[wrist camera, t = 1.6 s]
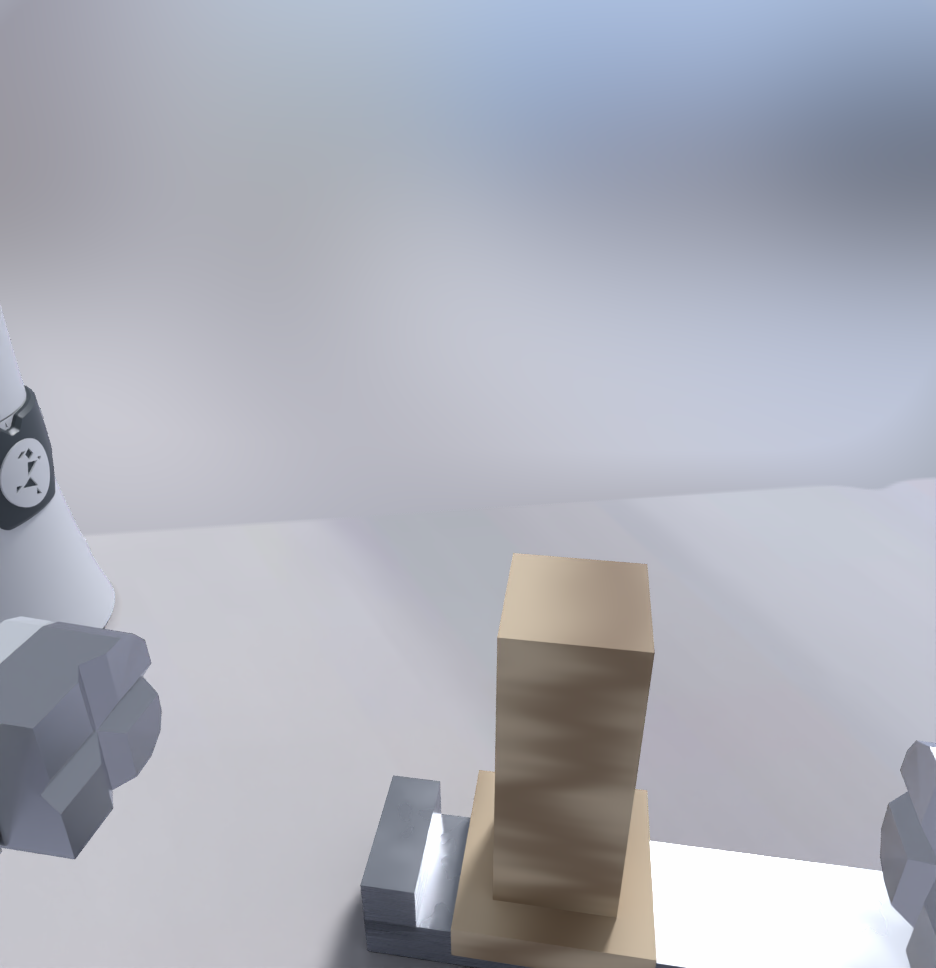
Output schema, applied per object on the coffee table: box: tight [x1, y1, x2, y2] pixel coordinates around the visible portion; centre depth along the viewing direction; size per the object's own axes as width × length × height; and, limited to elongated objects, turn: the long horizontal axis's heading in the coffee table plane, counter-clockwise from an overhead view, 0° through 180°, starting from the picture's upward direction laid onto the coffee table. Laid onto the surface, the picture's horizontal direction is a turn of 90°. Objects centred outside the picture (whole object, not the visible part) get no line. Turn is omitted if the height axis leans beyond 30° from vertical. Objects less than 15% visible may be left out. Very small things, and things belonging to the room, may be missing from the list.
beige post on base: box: [451, 553, 657, 968], centre depth 27 cm, size 7×7×14 cm
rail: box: [361, 776, 914, 968], centre depth 30 cm, size 24×5×4 cm, turn 81°
